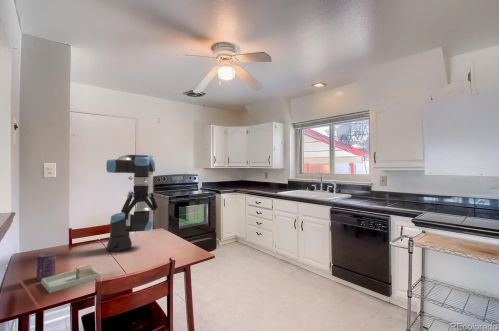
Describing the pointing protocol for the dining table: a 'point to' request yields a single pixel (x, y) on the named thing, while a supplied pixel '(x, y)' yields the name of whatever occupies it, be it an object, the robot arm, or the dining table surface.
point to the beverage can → (45, 265)
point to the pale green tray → (66, 280)
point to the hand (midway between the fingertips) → (139, 223)
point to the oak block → (83, 271)
